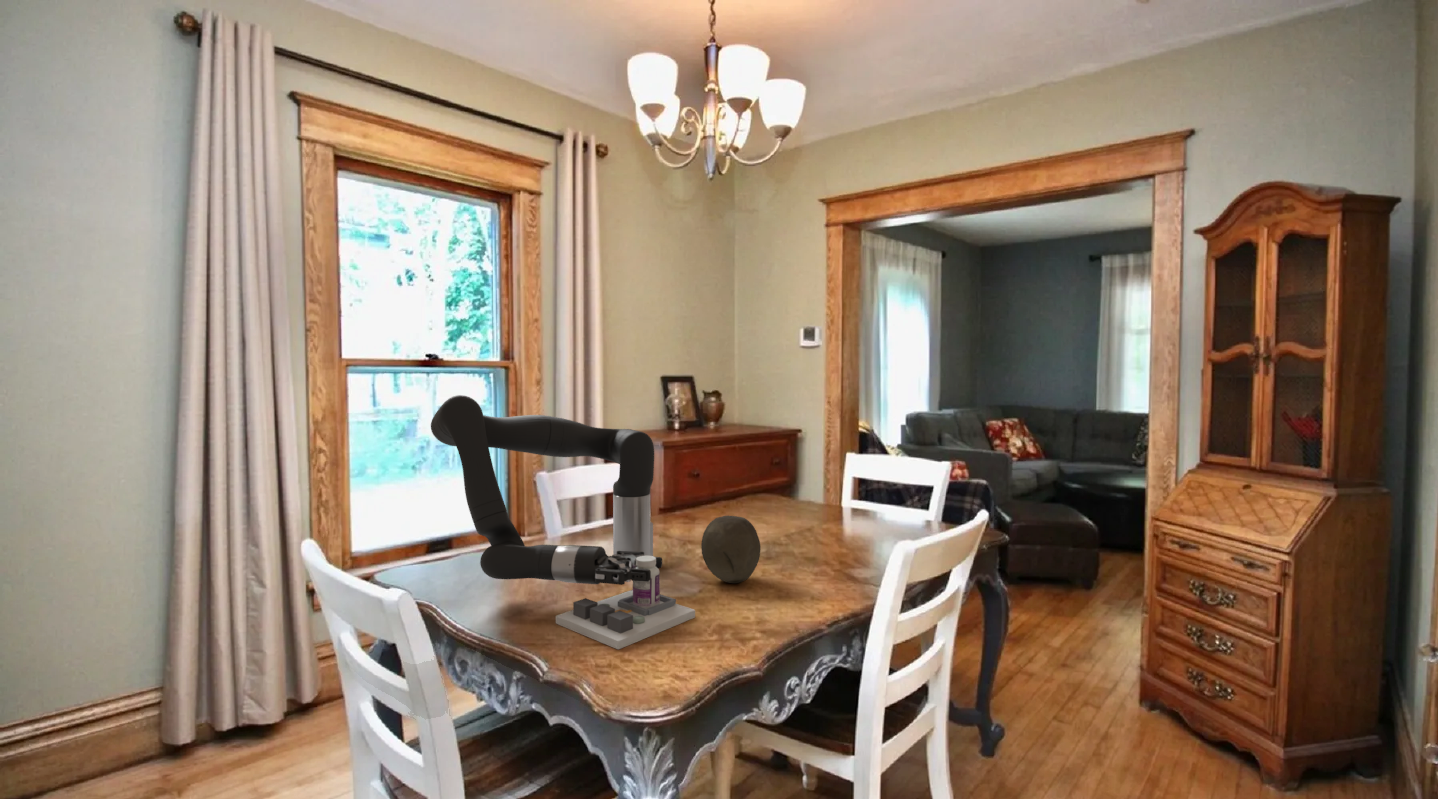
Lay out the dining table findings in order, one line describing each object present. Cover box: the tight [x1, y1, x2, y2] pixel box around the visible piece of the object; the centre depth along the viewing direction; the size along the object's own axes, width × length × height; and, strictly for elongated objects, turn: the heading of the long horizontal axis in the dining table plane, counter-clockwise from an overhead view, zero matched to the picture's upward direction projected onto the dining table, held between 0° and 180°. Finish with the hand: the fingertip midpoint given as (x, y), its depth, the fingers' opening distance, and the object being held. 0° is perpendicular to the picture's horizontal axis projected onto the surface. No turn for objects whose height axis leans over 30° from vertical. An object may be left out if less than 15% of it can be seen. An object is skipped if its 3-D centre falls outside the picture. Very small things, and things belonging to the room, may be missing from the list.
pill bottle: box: [632, 555, 661, 609], centre depth 136 cm, size 5×5×10 cm
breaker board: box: [555, 589, 696, 650], centre depth 132 cm, size 20×18×4 cm
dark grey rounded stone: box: [700, 515, 761, 584], centre depth 156 cm, size 14×14×15 cm
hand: (656, 569), depth 135 cm, fingers open, 8 cm apart
